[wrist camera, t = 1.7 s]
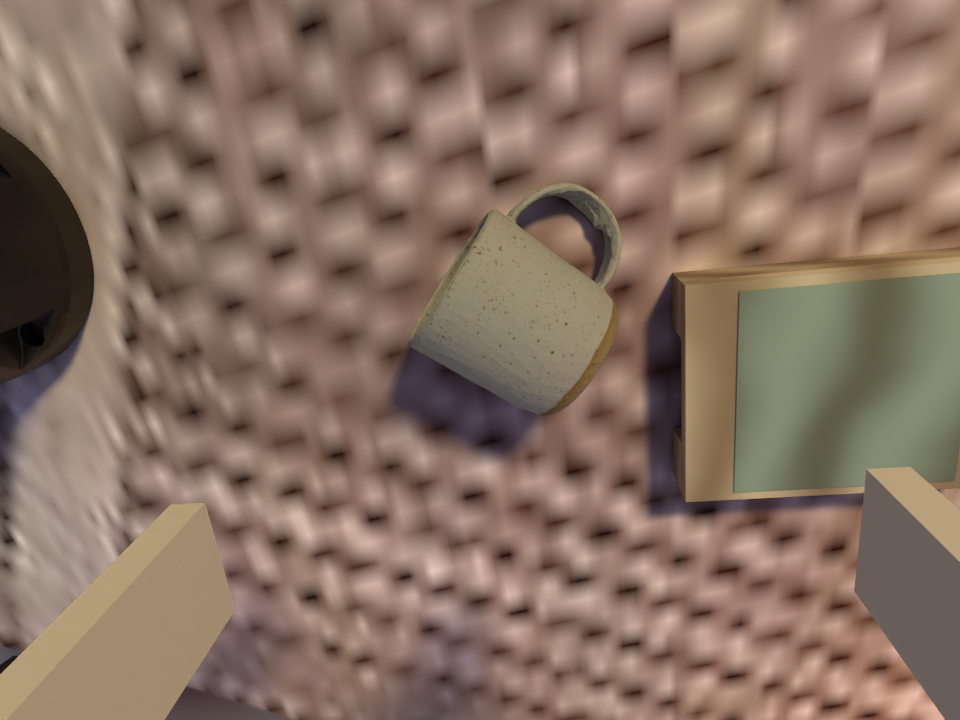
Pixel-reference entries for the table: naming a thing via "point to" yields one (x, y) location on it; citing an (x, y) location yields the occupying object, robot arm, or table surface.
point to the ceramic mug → (524, 310)
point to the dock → (818, 375)
